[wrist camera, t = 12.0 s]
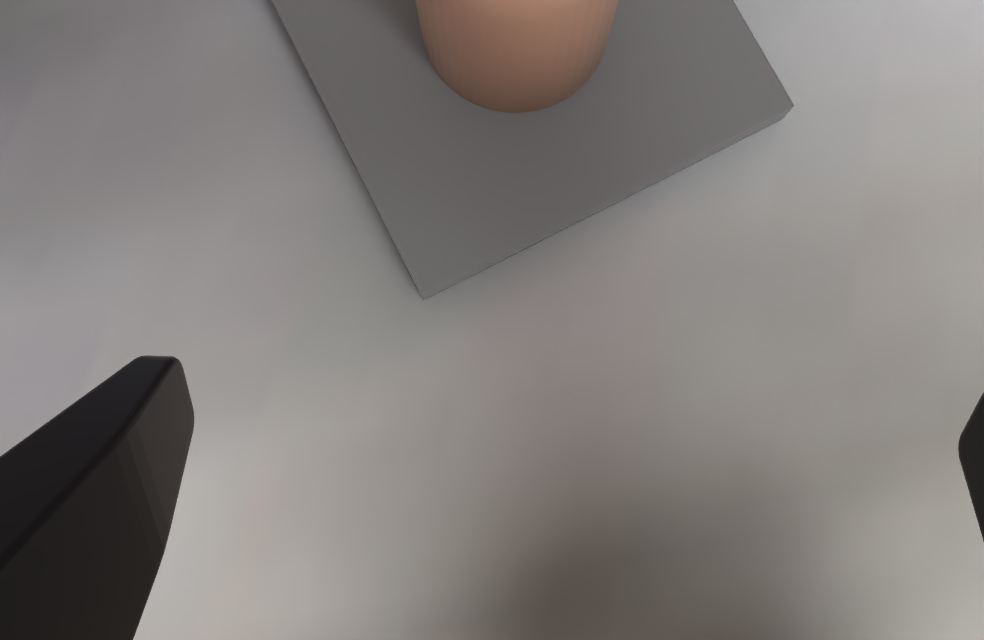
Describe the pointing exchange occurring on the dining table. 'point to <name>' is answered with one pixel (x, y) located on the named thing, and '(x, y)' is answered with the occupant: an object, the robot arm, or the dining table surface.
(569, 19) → the terracotta cylinder
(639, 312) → the dining table surface
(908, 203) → the dining table surface
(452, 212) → the mat
